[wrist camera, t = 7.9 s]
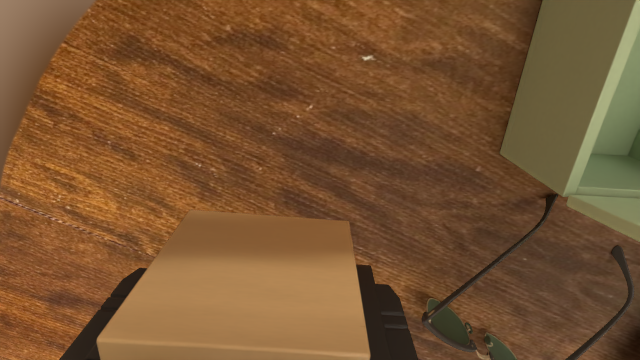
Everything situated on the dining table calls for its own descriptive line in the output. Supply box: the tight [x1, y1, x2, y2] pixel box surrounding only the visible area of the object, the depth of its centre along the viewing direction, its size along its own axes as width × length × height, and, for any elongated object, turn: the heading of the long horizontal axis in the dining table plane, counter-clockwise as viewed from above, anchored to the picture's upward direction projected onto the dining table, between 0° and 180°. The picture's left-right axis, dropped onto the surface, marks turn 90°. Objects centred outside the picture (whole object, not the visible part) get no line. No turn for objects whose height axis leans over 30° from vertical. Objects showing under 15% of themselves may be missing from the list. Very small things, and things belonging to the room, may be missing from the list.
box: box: [500, 0, 640, 199], centre depth 25 cm, size 14×12×9 cm
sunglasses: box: [422, 194, 634, 360], centre depth 34 cm, size 16×17×5 cm
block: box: [97, 210, 371, 360], centre depth 8 cm, size 4×4×4 cm
